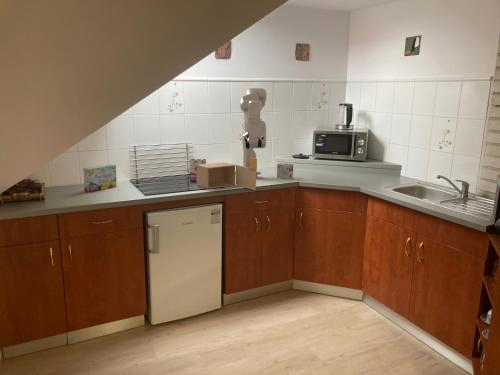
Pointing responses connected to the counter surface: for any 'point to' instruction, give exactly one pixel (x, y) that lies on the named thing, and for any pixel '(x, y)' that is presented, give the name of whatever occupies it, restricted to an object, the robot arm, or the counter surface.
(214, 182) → the carton
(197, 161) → the candy bar box
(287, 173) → the light bulb box
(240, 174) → the flap
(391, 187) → the counter surface
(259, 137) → the robot arm
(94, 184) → the snack box
